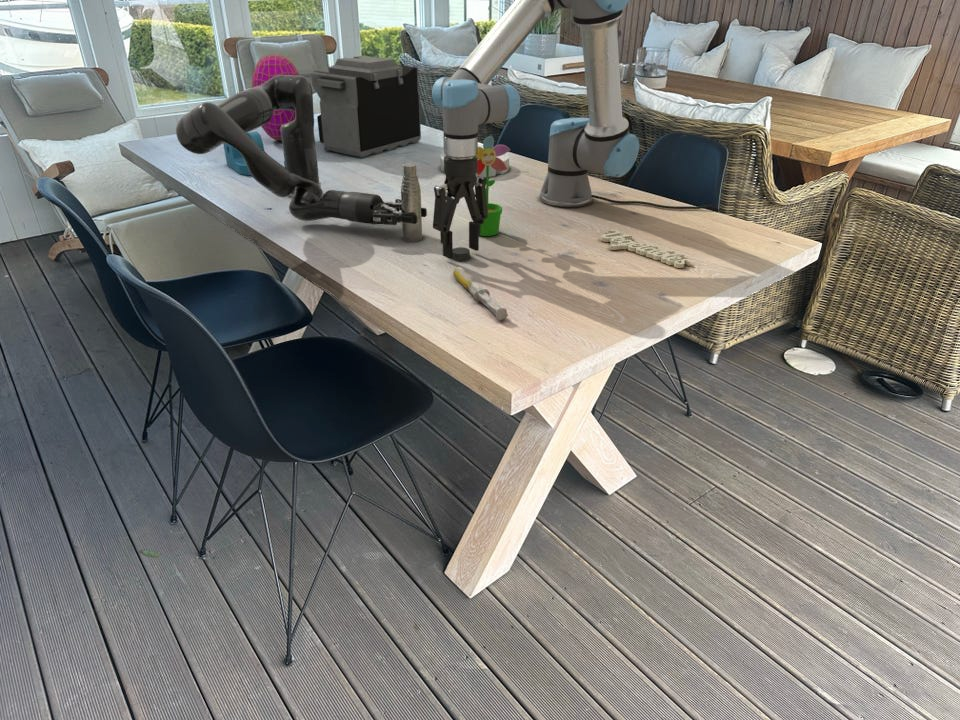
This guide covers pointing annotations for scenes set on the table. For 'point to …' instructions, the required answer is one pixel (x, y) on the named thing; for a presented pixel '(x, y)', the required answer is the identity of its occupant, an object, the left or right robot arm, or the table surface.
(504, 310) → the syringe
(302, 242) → the table surface
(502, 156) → the ashtray
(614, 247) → the decorative sign
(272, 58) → the decorative egg
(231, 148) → the camera mount
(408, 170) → the bottle
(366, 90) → the cooler box
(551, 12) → the right robot arm
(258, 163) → the left robot arm
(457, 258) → the cap
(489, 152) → the potted flower
